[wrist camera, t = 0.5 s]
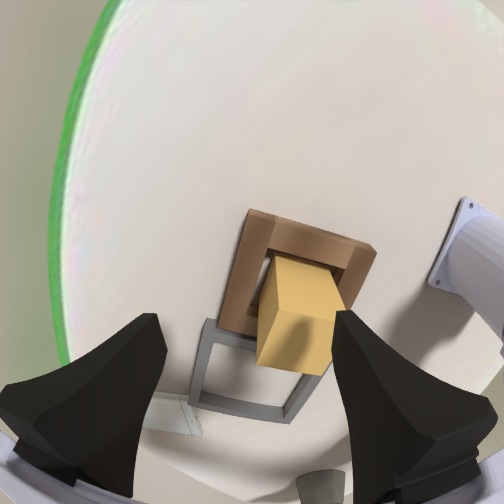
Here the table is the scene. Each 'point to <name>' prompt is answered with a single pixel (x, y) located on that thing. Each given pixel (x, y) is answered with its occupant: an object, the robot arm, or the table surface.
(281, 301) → the peg
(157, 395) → the hard drive
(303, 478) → the coffeepot
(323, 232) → the socket block
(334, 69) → the table surface
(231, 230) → the table surface
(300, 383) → the gray square frame
